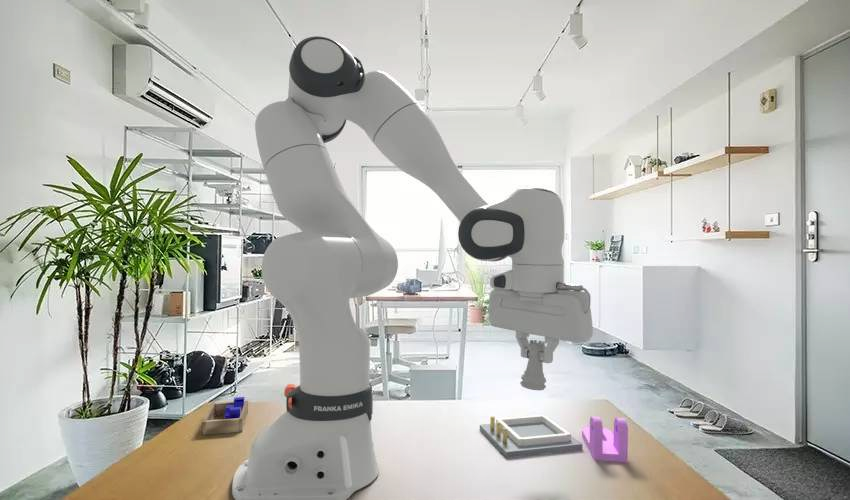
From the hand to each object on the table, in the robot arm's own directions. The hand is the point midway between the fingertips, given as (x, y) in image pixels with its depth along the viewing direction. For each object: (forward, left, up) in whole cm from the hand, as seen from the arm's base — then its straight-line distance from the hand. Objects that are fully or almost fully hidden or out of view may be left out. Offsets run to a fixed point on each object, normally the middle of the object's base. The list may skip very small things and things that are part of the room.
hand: (536, 359), depth 85 cm
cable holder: (-53, +30, -18) cm, 63 cm away
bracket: (+14, +2, -18) cm, 23 cm away
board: (+2, +8, -17) cm, 19 cm away
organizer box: (-55, +29, -17) cm, 64 cm away
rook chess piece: (-1, 0, -5) cm, 5 cm away
